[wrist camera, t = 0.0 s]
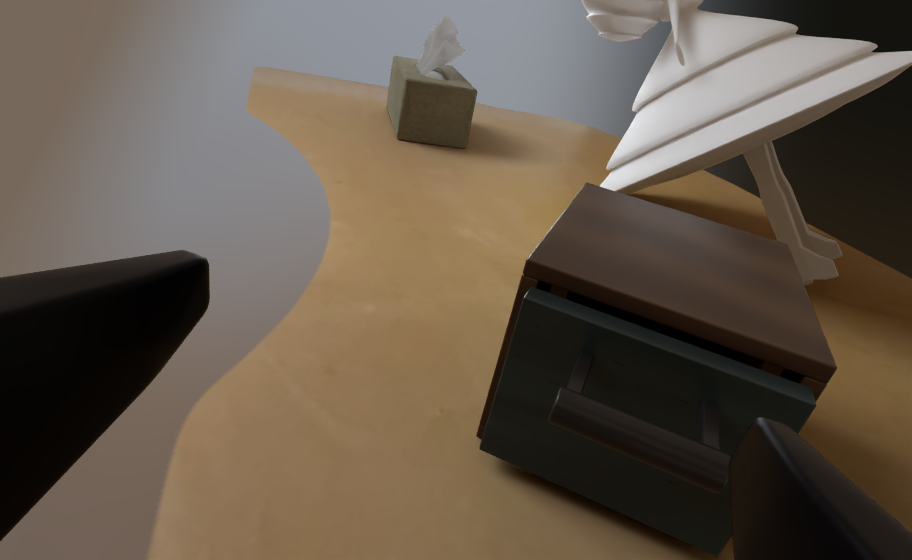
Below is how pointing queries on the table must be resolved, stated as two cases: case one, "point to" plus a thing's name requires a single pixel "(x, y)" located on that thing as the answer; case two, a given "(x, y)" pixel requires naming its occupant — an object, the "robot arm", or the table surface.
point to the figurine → (735, 103)
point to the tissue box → (432, 93)
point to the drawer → (632, 412)
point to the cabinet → (680, 281)
